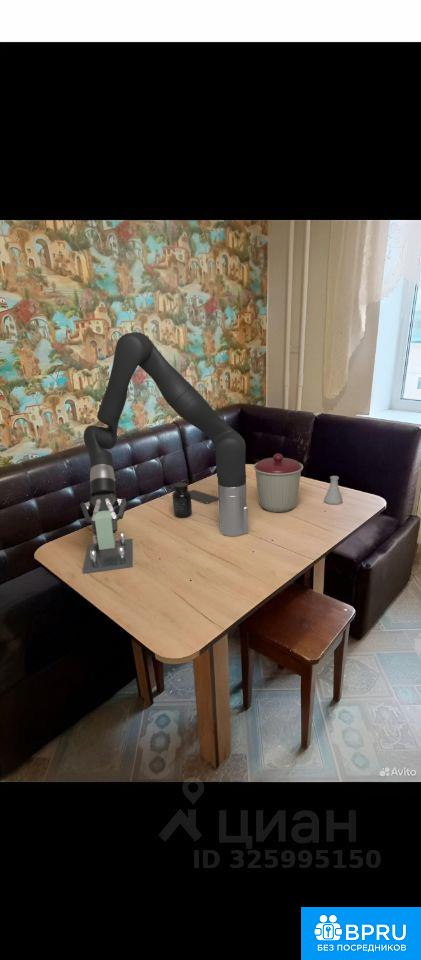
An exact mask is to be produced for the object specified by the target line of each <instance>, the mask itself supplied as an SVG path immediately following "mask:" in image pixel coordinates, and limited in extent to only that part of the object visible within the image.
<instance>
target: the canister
mask: <svg viewBox="0 0 421 960" xmlns="http://www.w3.org/2000/svg"><path fill="white" fill-rule="evenodd" d="M303 465H304V464H302V463H301V462H299V461H298V460H296V459H293V458H288V457H284V456H283V454H281V453H275V454H274V455H273V457H267V458H263V459H261V460H259V461H258V462H256V463H255V464H253V465H252V467H253V470H254V471H255V479H256V487H257V494H258V501H259V505H261V507H262V508H263V509H264V510H266V511H267V512H273V513H285V512H289V511H291V510H292V509H294V507H295V506H296V505H297V504H296V503H297V500H298V495H299V494H298V493H299V490H300V489H299V488H300V481H301V472H302V471H303V469H304V466H303Z"/></svg>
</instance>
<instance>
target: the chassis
mask: <svg viewBox="0 0 421 960" xmlns="http://www.w3.org/2000/svg"><path fill="white" fill-rule="evenodd" d="M118 535H119V536H118V537H119V539H118V540H115V548H109V549H101V550H99V545H98V538H97V535H95V534H93V535H92V541H93V543H89V544H88V545H87V550H86V555H85V557H84V558H85V560H84V564H83V569H82V573H83V574H84V575H85V574H90V573H91V574H92V573H100V572H107V571H108V572H109V571H114V570H115V571H116V570H121V569H122V570H123V569H129V568H134V545H133V544H134V541H133V538H126V537H125V532H124V531H119V533H118Z"/></svg>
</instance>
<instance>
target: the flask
mask: <svg viewBox="0 0 421 960" xmlns="http://www.w3.org/2000/svg"><path fill="white" fill-rule="evenodd" d="M339 478H340V477H339V476H337V475H332V476H331V475H330V478H329V479H330V483H329V486H328V490H327V491H326V492H327V493H326V494H325V496H324V498H323V503H325V502H326V503H325V504H329V505H336V504H338V505H340V504H343V498H342V494H341V490H340V487H339V481H338V480H339Z"/></svg>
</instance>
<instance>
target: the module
mask: <svg viewBox="0 0 421 960" xmlns="http://www.w3.org/2000/svg"><path fill="white" fill-rule="evenodd" d="M95 525H96V531H97V538H98V545H99V550H101V549H109V548H115V541H116V533H113V530H112V514H111V512H110V511H109V510H107V511H105V510H104V511H98V513H96V515H95Z"/></svg>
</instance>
